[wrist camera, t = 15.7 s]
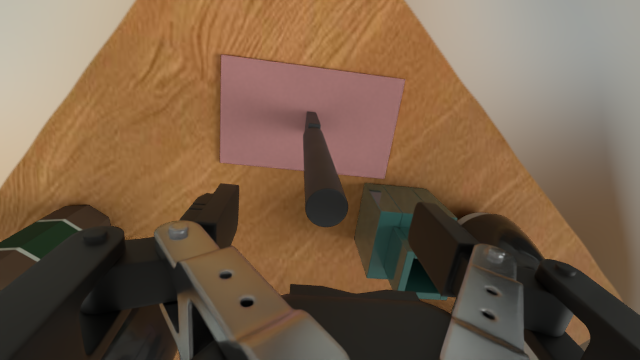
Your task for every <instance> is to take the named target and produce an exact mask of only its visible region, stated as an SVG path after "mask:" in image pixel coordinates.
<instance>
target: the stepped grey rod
mask: <svg viewBox="0 0 640 360" xmlns="http://www.w3.org/2000/svg"><path fill="white" fill-rule="evenodd" d="M320 128H321V124H320V121H319V119H318V116H317V114H316V112H309V111H307V114H306V123H305V132H304V134H303V154H304V183H305V210H306V214H307V217H308V218H309V220H310V221H311V222H313V223H314V224H316V225H318V226H321V227H331V226H334V225H337V224H338V223H340V222H341V221H342V220H343V219H344V218H345V216H346V214H347V211H348V202H347V199H346V197H345V194H344V191H343V188H342V185H341V183H340V180H339V177H338V174H337V172H336V169H335V166H334V163H333V160H332V158H331V155H330V152H329V149H328V146H327V144H326V141H325V138H324V135H323V133H322V131H321V130H320Z"/></svg>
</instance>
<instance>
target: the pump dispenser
mask: <svg viewBox="0 0 640 360" xmlns="http://www.w3.org/2000/svg"><path fill="white" fill-rule="evenodd" d="M457 222H458V223H459V224H460V225H461V226H462V228H465V229H466V230H467V231H468V233H470V234H471V235H472V236H473V237H474V238H475V239H476V240H477V241H478V242H479V243H480V244H488V245H492V246H495V247H498V248H501V249H503V250H505V251H506V252H508V253H510V254H511V255H512V256H513V257H514V258H515V259H516V261H517V266H521V267H525V268H529V269H533V270H537V268H538V266H539V264H540V262H541V260H544V259H545V258H544V257H543V255H542V254H541V252H540V251H539V250H538V248H537V247H536V246H535V244H534V243H533V242H532V241H531V239H530V238H529V237H528V236H527V235H526V234H525V233H524V232H523V231H522V230H521V229H520V228H519V227H518V226H517V225H516V224H515V223H514V222H512V221H511V220H510V219H508V218H506V217H504V216H502V215H498V214H491V213H482V212H480V213H472V214H469V215H466V216H464V217H462V218H461V219H459V220H458V221H457Z"/></svg>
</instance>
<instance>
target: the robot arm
mask: <svg viewBox="0 0 640 360" xmlns="http://www.w3.org/2000/svg"><path fill="white" fill-rule="evenodd" d="M238 210H239V185H232V184H220V185H219V186H218V188H217V189H216V191H215V192H214V194H210V193H206V194H204V195H202V196H200V197H198V198H197V199H196V200H195V201H194V203H193V205H191V206H190V208H189V209H188V210H187V211H186V212H185V214H184V215H183V216H182V217H181V219H180V220H179V221H173V222H168V223H165V224H163V225H161V226H159V227H158V228H157V229H156V230H155V232H154V237H151V238H143V239H133V240H125V236H124V231H123V230H122V229H120V228H118V227H114V226H97V227H91V228H87V229H84V230H81V231H78V232H76V233H74V234H72V235H71V236H69V237H68V238H67V239H65V240H64V241H63V242H62V243H60V244H59V245H58V246H57V247H55V248H54V249H53V250H52V251H50V252H49V253H48V254H46V255H45V256H44V257H43V258H41V259H40V260H39V261H38V262H36V263H35V264H34V265H33V266H31V267H30V268H29V269H27V270H26V271H25V272H24V273H22V274H21V275H20V276H19V277H17V278H16V279H15V280H14V281H12V282H11V283H10V284H9V285H7V286H6V287H5V288H3V289H2V290H1V291H0V360H173V359H174V357H175V355H176V352H177V350H178V351H179V355H180V360H530V358H529V355H528V354H526V353H525V352H524V341H525V342H526V344H527V345H528V346H529V348H530V349H531V350H532V351H533V353H534V354H535V355H536V357H537V358H538V359H539V360H640V315H638V314H637V313H636V312H635V311H633V310H632V309H631V308H629V307H628V306H627V305H625V304H624V303H623V302H621V301H620V300H619V299H617V298H616V297H615V296H613V295H612V294H611V293H609V292H608V291H607V290H605V289H604V288H603V287H601V286H600V285H599V284H597V283H596V282H595V281H593V280H592V279H591V278H589V277H588V276H587V275H585V274H584V273H582V272H581V271H579V270H578V269H576V268H574V267H572V266H571V265H569V264H566V263H563V262H559V261H556V260H551V259H544V260H541V262H540V264H539V266H538V268H537V270H533V269H529V268H525V267H521V266H517V261H516V259H515V258H514V257H513V256H512V255H511V254H510V253H508V252H506V251H505V250H503V249H501V248H498V247H495V246H492V245H488V244H480V243H479V242H478V241H477V240H476V239H475V238H474V237H473V236H472V235H471V234H470V233H468V231H467V230H466V229H465V228H462V226H461V225H460V224H459V223H458V222H457V221H456V220H454V219H453V218H451V217H449V216H448V215H447V214H446V213H445V212H444V211H443V210H442V209H441V208H440V207H439V206H438V205H437V204H435V203H425V202H418V203H417V204H416V206H415V209H414V213H413V217H412V221H411V225H410V229H409V233H408V242H409V245H410V247H411V249H412V250H413V252H414V254H415V255H416V257H417V258H418V260H419V261H420V263H421V265H422V266H423V268H424V269H425V271H426V273H427V274H428V276H429V277H430V279H431V281H432V282H433V284H434V285H435V287H436V288H437V290H438V292H439V293H440V295H441V296H443V297H456V300H455V303H454V306H453V309H452V312H451V314H450V313H448V312H446V311H444V310H442V309H440V308H438V307H436V306H433V305H431V304H428V303H425V302H421V301H420V300H419V298H418V296H417V294H416V292H414V291H397V290H381V291H374V292H367V293H360V294H354V293H349V292H345V291H341V290H337V289H332V288H328V287H324V286H312V285H296V284H291V285H290V294H285V295H281V296H280V295H279V294H278V293H277V292H276V291H275V290H274V289H273V287H272V286H271V285H270V284H269V283H268V282H267V281H266V280H265V279H264V278H263V277H262V276H261V275H260V274H259V272H258V271H257V270H256V269H255V268H254V267H253V266H252V265H251V264H250V263H249V262H248V261H247V260H246V259H245V257H244V256H243V255H242V254H241V253H240V252H239V251H238V250H237V249H236V248H235V247H234V246H231V243H232V241H233V238H234V236H235V233H236V230H237V225H238ZM573 315H575V316H576V317H577V318H579V319H580V320H581V321H582V322H583V323H584V324H585V325H586V327H587V328H588V330H589V333H590V343H589V345H588V347H587V349H586V350H585V352H584V351H583V350H582V349H581V348H580V346H579V345H578V344H577V343H576V342H575V341H574V340H573V339H572V338H571V337H570V336H569V335H568V334H567V333H566V332H565V330H566V328H567V326H568V324H569V322H570V320H571V318H572V316H573Z"/></svg>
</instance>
